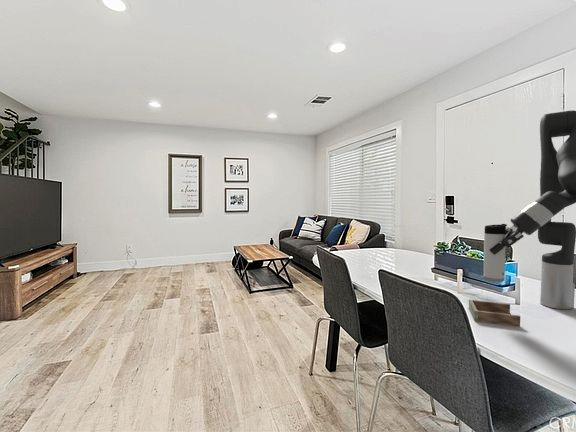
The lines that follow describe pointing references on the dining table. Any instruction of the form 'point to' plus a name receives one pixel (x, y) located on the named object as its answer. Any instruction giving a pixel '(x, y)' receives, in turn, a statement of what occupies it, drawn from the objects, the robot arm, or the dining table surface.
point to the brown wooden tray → (493, 313)
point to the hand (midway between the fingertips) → (489, 250)
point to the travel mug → (494, 262)
